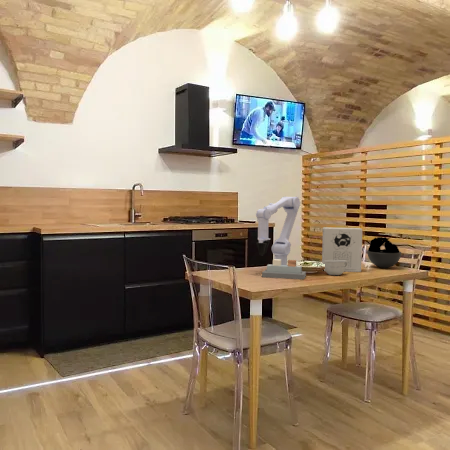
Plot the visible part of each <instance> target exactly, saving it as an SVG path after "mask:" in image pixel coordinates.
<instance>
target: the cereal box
mask: <svg viewBox="0 0 450 450" xmlns="http://www.w3.org/2000/svg"><path fill="white" fill-rule="evenodd" d="M321 247H322V252H321V264H322V263H323V264H325V261H326V260H343V261H344V260H345V261H347V262H348V266H347V267H346V268H345V269H344V272H348V273H351V272H352V273H362V256H363V255H362V254H363V253H362V251H363V228H361V227H326V226H325V227H322V246H321ZM345 265H346V263H345V262H344V266H345ZM323 272H326V271H325V269H324V271H323ZM344 272H343V273H344Z"/></svg>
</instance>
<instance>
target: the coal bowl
mask: <svg viewBox="0 0 450 450" xmlns="http://www.w3.org/2000/svg"><path fill="white" fill-rule="evenodd" d="M390 239H391V238H390V237H386V236H384V237H383V236H378V237H374V238H373V239H371V240H370V244H369V246H368V249H367V251H366V254H367V256H368V259H369V261H370V262H371V263H372V264H373V265H374V266H376V267H379V268H382V269H385V268H387V269H389V268H391V267H393V266H395V265H397V264H398V262H399V260H400V259H401V257H402V251H400V249H399V248H398V246H397V244H396V243H395V244H394V243H392V241H390ZM382 246H384V249H381V248H382Z"/></svg>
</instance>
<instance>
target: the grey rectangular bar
mask: <svg viewBox="0 0 450 450" xmlns="http://www.w3.org/2000/svg"><path fill="white" fill-rule="evenodd" d="M266 270H267V272H279V273H298V274H301V272H302V271H303V267H302V265H296V267H291V266H288V264H287V265H281V266H273V263H272V264H269V263H268V264H267V265H266Z"/></svg>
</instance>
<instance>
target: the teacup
mask: <svg viewBox="0 0 450 450" xmlns="http://www.w3.org/2000/svg"><path fill="white" fill-rule="evenodd" d="M344 262H345V263H346V265H345V266H344ZM347 266H348V262H347V261H345V260H344V261H343V260H326V261H325V271H324V272H326V274H328V275H330V276H339V275H342V274H343V273H344V269H345V268H346V267H347Z"/></svg>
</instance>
